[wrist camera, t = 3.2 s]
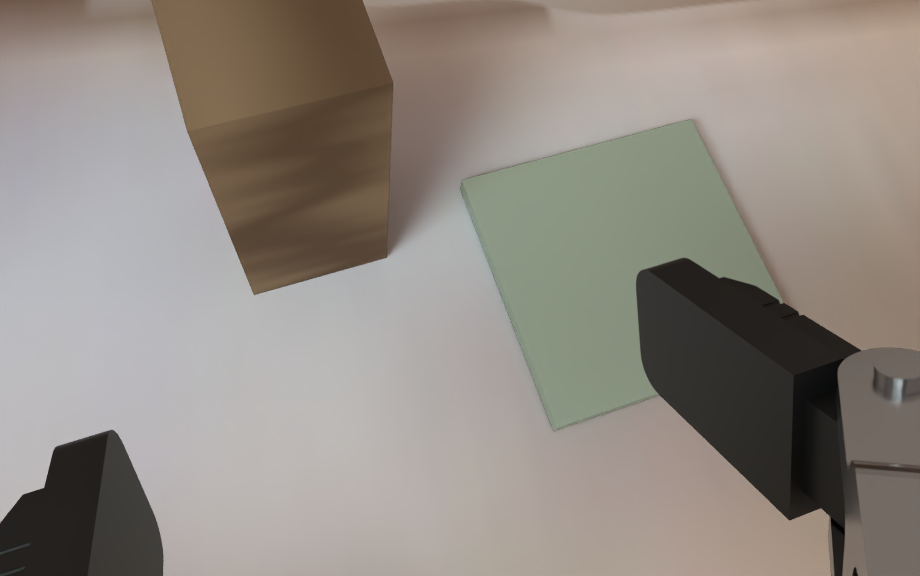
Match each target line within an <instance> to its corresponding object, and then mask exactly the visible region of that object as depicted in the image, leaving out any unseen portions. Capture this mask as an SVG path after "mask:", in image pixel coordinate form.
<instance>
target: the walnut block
mask: <svg viewBox="0 0 920 576" xmlns="http://www.w3.org/2000/svg"><path fill="white" fill-rule="evenodd" d="M152 4H153V7H154V11H155V15H156V18H157V22H158V26H159V29H160V33H161V37H162V40H163V44H164V48H165V51H166V55H167V59H168V62H169V66H170V70H171V74H172V77H173V81H174V85H175V88H176V92H177V96H178V99H179V103H180V107H181V110H182V114H183V118H184V121H185V125H186V129H187V132H188V134H189V137H190V139H191V142H192V144H193V147H194V149H195V152H196V154H197V156H198V159H199V161H200V164H201V166H202V169H203V171H204V174H205V176H206V179H207V181H208V183H209V186H210V188H211V191H212V193H213V196H214V198H215V201H216V203H217V205H218V208H219V210H220V213H221V215H222V218H223V220H224V223H225V225H226V228H227V230H228V232H229V235H230V237H231V240H232V242H233V245H234V247H235V250H236V252H237V255H238V257H239V259H240V262H241V264H242V267H243V269H244V272H245V274H246V277H247V279H248V281H249V284H250V286H251V289H252V291H253V294H254V295H256V294H259V293H263V292H266V291H270V290H273V289H277V288H280V287H284V286H288V285H291V284H295V283H298V282H302V281H305V280H309V279H312V278H316V277H320V276H323V275H327V274H330V273H334V272H337V271H341V270H344V269H348V268H352V267H355V266H359V265H362V264H366V263H369V262H373V261H376V260H380V259H383V258H387V231H388V205H389V178H390V152H391V125H392V99H393V81H392V79H391V76H390V73H389V71H388V68H387V65H386V62H385V60H384V57H383V54H382V52H381V49H380V46H379V44H378V41H377V38H376V36H375V33H374V30H373V28H372V25H371V22H370V20H369V17H368V14H367V12H366V9H365V6H364V3H363V1H362V0H152Z"/></svg>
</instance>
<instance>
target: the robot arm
mask: <svg viewBox="0 0 920 576" xmlns="http://www.w3.org/2000/svg"><path fill="white" fill-rule="evenodd" d="M636 296H637V310H638V324H639V338H640V352H641V360H642V364H643V368H644V371H645V373H646V376H647V378H648V380H649V382H650V384H651V385H652V387H653V388H654V390H655V391H656V392H657V393H658V394H659V395H660V396H661V397H662V398H663V399H664V400H665V401H666V402H667V403H668V404H669V405H670V406H671V407H672V408H674V409H675V410H676V411H677V412H678V413H679V414H680V415H681V416H682V417H683V418H684V419H685V420H686V421H687V422H688V423H689V424H690V425H691V426H692V427H693V428H694V429H695V430H696V431H697V432H698V433H699V434H700V435H701V436H702V437H704V438H705V439H706V440H707V441H708V442H709V443H710V444H711V445H712V446H713V447H714V448H715V449H716V450H717V451H718V452H719V453H720V454H721V455H722V456H723V457H724V458H725V459H726V460H727V461H728V462H729V463H730V464H731V465H733V466H734V467H735V468H736V469H737V470H738V471H739V472H740V473H741V474H742V475H743V476H744V477H745V478H746V479H747V480H748V481H749V482H750V483H751V484H752V485H753V486H754V487H755V488H756V489H757V490H758V491H759V492H760V493H762V494H763V495H764V496H765V497H766V498H767V499H768V500H769V501H770V502H771V503H772V504H773V505H774V506H775V507H776V508H777V509H778V510H779V511H780V512H781V513H782V514H783V515H784V516H785V517H786V518H787V519H788V520H792V519H794V518H797V517H799V516H802V515H805V514H807V513H810V512H812V511H815V510H817V509H820V508H821V509H823V510H824V511H825V512H826V513H827V514H828V515H829V528H828V542H829V557H830V572H831V576H920V352H919V351H915V350H909V349H902V348H875V349H869V350H864V351H861V350H860V349H858V348H856V347H855V346H853V345H851V344H850V343H848V342H847V341H845V340H843V339H842V338H840V337H838V336H837V335H835V334H833V333H832V332H830V331H829V330H827V329H825V328H824V327H822V326H820V325H819V324H817V323H816V322H814V321H812V320H811V319H809V318H807V317H806V316H804V315H801V316H799V314H798V311H796V310H794V309H793V308H791V307H790V306H788V305H786V304H785V303H782V304H780V302H779V300H778V299H776V298H775V297H773V296H772V295H770V294H768V293H767V292H765V291H763V290H762V289H760V288H759V287H757V286H755V285H751V284H748V283H744V282H741V281H737V280H734V279H730V278H727V277H722V278H718V277H717V276H715V275H714V274H712V273H711V272H709V271H707V270H706V269H704V268H703V267H701V266H700V265H698V264H696V263H695V262H693V261H692V260H690V259H688V258H680V259H677V260H673V261H670V262H667V263H663V264H660V265H657V266H654V267H650V268H647V269H644V270H641V271H640V272H639V273H638V275H637V279H636ZM0 576H163V547H162V541H161V536H160V532H159V528H158V525H157V521H156V518H155V516H154V513H153V511H152V509H151V506H150V504H149V502H148V499H147V497H146V495H145V493H144V490H143V488H142V486H141V484H140V481H139V479H138V477H137V474H136V472H135V470H134V468H133V465H132V463H131V461H130V459H129V456H128V454H127V452H126V449H125V447H124V445H123V443H122V441H121V439H120V437H119V436H118V434H117V433H116V432H115V431H114V430H109V431H106V432H103V433H99V434H96V435H93V436H89V437H86V438H83V439H79V440H76V441H73V442H70V443H66V444H63V445H60V446H57V447H55V449H54V451H53V454H52V458H51V463H50V467H49V471H48V475H47V479H46V483H45V487H44V488H43V489H39V490H36V491H33V492H30V493H27V494H23V495H22V497H21V498H20V499H19V500H18V502H17V503H16V504H15V505H14V507H13V508H12V509H11V510H10V512H9V513H8V514H7V515H6V517H5V518H4V519H3V520H2V522H1V523H0Z"/></svg>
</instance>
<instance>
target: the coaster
mask: <svg viewBox="0 0 920 576" xmlns="http://www.w3.org/2000/svg"><path fill="white" fill-rule="evenodd" d="M460 189H461V192H462V195H463V197H464V200H465V202H466V205H467V208H468V210H469V213H470V215H471V218H472V221H473V223H474V226H475V228H476V231H477V234H478V236H479V239H480V241H481V244H482V247H483V249H484V252H485V254H486V257H487V260H488V262H489V265H490V267H491V270H492V273H493V275H494V278H495V280H496V283H497V286H498V288H499V291H500V293H501V296H502V299H503V301H504V304H505V306H506V309H507V311H508V314H509V317H510V319H511V322H512V324H513V327H514V330H515V332H516V335H517V337H518V340H519V343H520V345H521V348H522V350H523V353H524V356H525V358H526V361H527V363H528V366H529V369H530V371H531V374H532V376H533V379H534V382H535V384H536V387H537V389H538V392H539V395H540V397H541V400H542V402H543V405H544V408H545V410H546V413H547V415H548V418H549V421H550V423H551V426H552V428H553V431H556V430H559V429H562V428H565V427H568V426H571V425H574V424H577V423H580V422H582V421H585V420H588V419H591V418H594V417H597V416H600V415H603V414H606V413H609V412H612V411H615V410H617V409H620V408H623V407H626V406H629V405H632V404H635V403H638V402H641V401H644V400H647V399H649V398H652V397H655V396H658V395H659V394H658V393H657V392H656V391H655V390H654V388H653V387H652V385H651V384H650V382H649V380H648V378H647V376H646V373H645V371H644V368H643V364H642V360H641V352H640V338H639V324H638V310H637V296H636V279H637V275H638V273H639V272H640V271H641V270H644V269H647V268H650V267H654V266H657V265H660V264H663V263H667V262H670V261H673V260H677V259H680V258H688V259H690V260H692V261H693V262H695V263H696V264H698V265H700V266H701V267H703V268H704V269H706V270H707V271H709V272H711V273H712V274H714V275H715V276H717V277H718V278H722V277H727V278H730V279H734V280H737V281H741V282H744V283H748V284H751V285H755V286H757V287H759V288H760V289H762V290H763V291H765V292H767V293H768V294H770V295H772V296H773V297H775V298H776V299H778V300H779V302H780V304H782V303H784V302H783V300H782V298H781V296H780V294H779V292H778V290H777V288H776V286H775V284H774V282H773V280H772V278H771V276H770V274H769V272H768V270H767V268H766V266H765V264H764V262H763V260H762V258H761V256H760V254H759V252H758V250H757V248H756V246H755V244H754V242H753V240H752V238H751V236H750V234H749V232H748V230H747V228H746V226H745V224H744V222H743V220H742V218H741V216H740V214H739V212H738V210H737V208H736V206H735V204H734V202H733V200H732V198H731V196H730V194H729V192H728V190H727V188H726V186H725V184H724V182H723V180H722V178H721V176H720V174H719V172H718V170H717V169H716V167H715V165H714V163H713V161H712V159H711V157H710V155H709V153H708V151H707V149H706V147H705V145H704V143H703V141H702V139H701V137H700V135H699V133H698V131H697V129H696V127H695V125H694V123H693V121H692V119H690V120H686V121H682V122H678V123H675V124H671V125H667V126H663V127H660V128H656V129H652V130H648V131H645V132H641V133H637V134H633V135H630V136H626V137H622V138H618V139H615V140H611V141H607V142H603V143H599V144H596V145H592V146H588V147H584V148H581V149H577V150H573V151H569V152H566V153H562V154H558V155H554V156H551V157H547V158H543V159H539V160H536V161H532V162H528V163H524V164H521V165H517V166H513V167H509V168H506V169H502V170H498V171H494V172H491V173H487V174H483V175H479V176H476V177H472V178H468V179H464V180H462V182H461V186H460Z"/></svg>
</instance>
